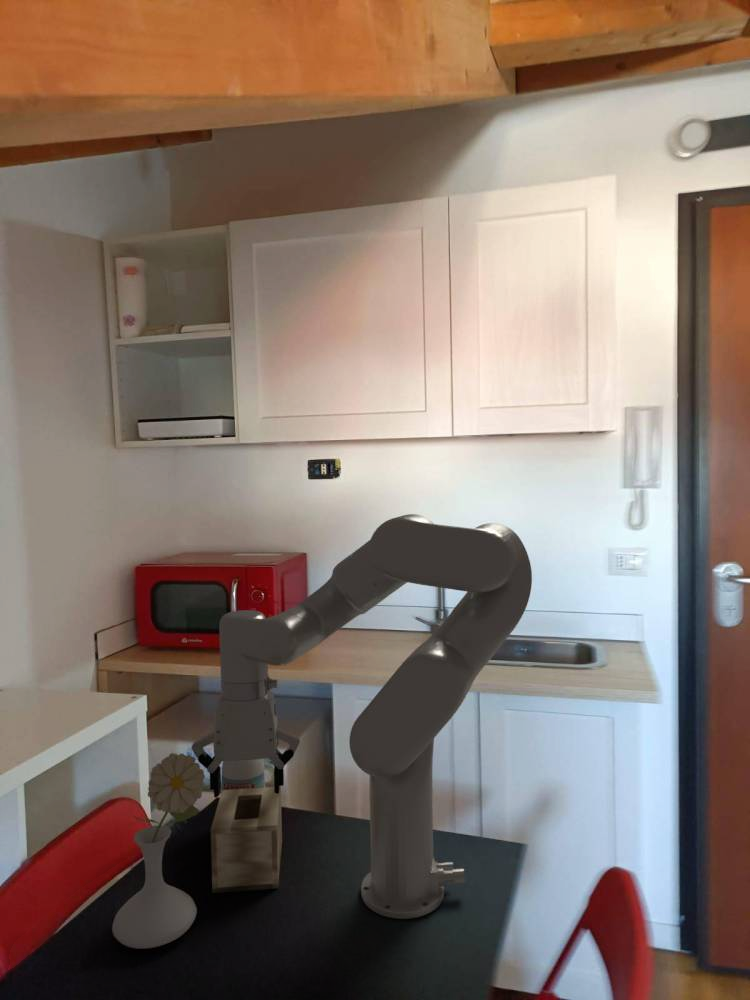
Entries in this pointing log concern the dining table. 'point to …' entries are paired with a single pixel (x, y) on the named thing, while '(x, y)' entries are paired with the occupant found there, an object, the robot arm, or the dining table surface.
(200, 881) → the dining table surface
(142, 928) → the flower in vase
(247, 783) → the milk bottle
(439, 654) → the robot arm
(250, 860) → the box
